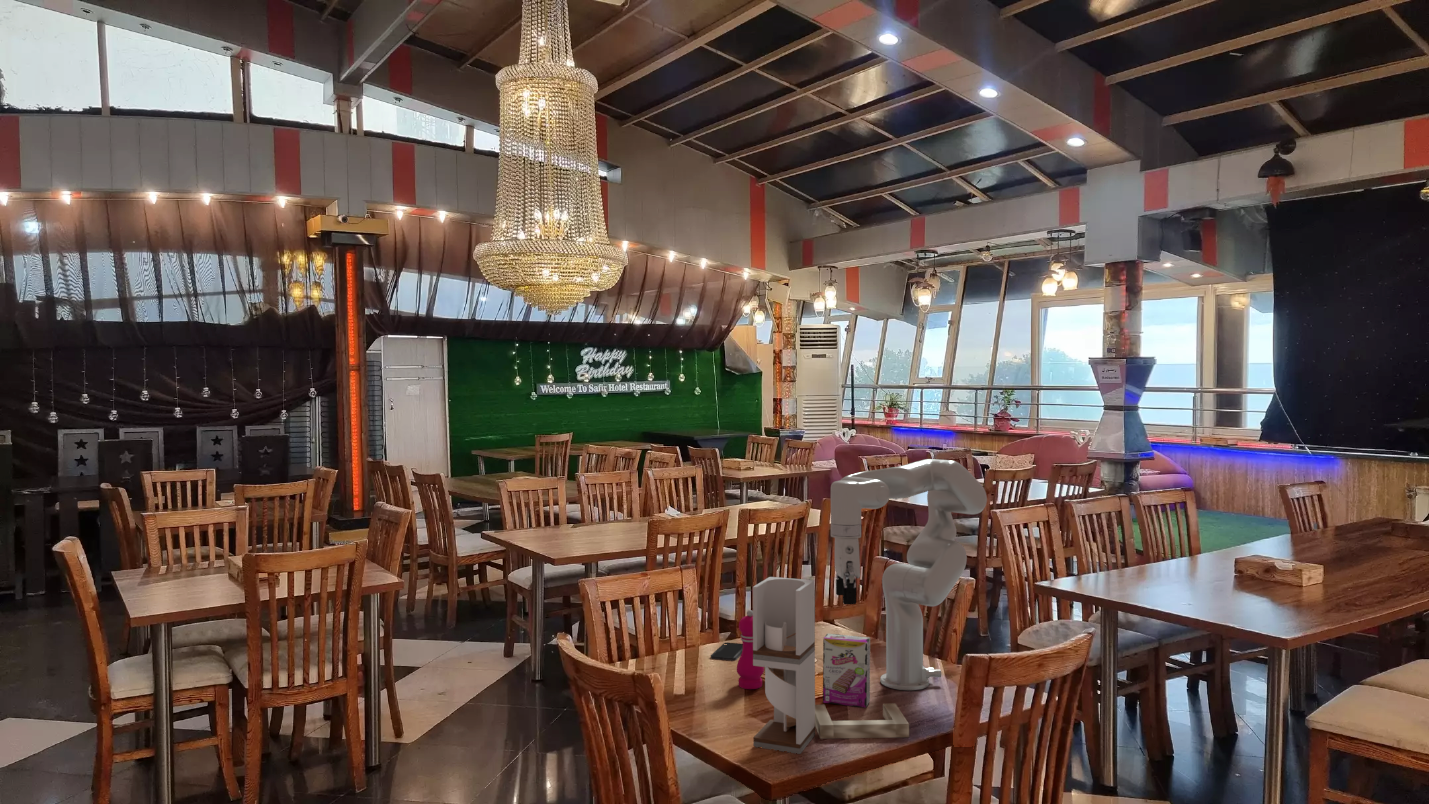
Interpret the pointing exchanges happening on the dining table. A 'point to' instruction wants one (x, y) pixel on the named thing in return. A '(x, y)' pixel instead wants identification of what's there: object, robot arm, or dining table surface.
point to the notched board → (862, 725)
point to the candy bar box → (846, 670)
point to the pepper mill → (748, 656)
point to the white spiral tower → (786, 660)
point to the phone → (728, 652)
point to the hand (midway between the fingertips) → (845, 599)
